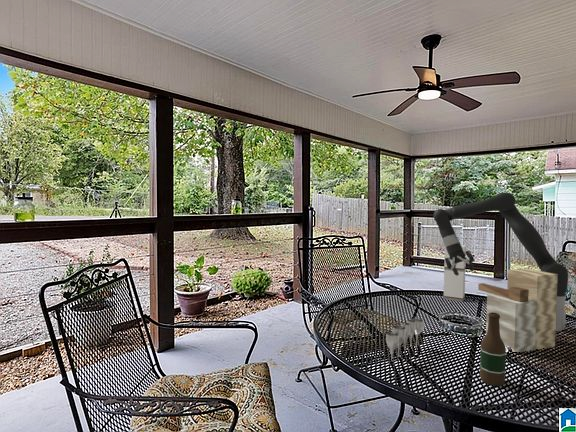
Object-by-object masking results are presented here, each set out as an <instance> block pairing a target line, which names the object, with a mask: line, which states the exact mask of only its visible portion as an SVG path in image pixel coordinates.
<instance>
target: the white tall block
mask: <svg viewBox="0 0 576 432" xmlns="http://www.w3.org/2000/svg"><path fill="white" fill-rule="evenodd" d="M461 246H462V249H463V251H464V252H466V251H467V245H463V244H461ZM449 257H450V256H449V254H448V252H447V249H446V247H445V246H444V259H445V258H449ZM465 257H466V258H467V255H466V254H465ZM450 262H451V265H452V260H451V259H450ZM466 264H467V263H466V262H464V261H462V262H459V263H457V265H456V269H457V271H458V273H459V275H457V276H456V275H455V274H454V272H453V270H452V269H448V267H447V264H446V261H445V260H444V264H443V265H444V266H443V268H444V269H443V271H444V273H443V297H442V298H443V299H444V300H449V301H457V302H462V303H463V302H464V300H465V298H466V295H465V291H466V290H465V289H466V288H465V287H466V267H467V266H466Z"/></svg>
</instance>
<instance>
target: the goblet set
mask: <svg viewBox="0 0 576 432" xmlns="http://www.w3.org/2000/svg"><path fill="white" fill-rule="evenodd" d="M424 329H425V323H424V320H423V319H421V318H417V317H416V318H415V317H414V318H411V319H408V320H407V322H404V321H403V322H401V324H400V325H399V324H398V325H394V326H392V331H389V332H387V333H386V336H385V342H386V345H387V347H388V349H389V350H390V356H391V361H392V362H393V360H392V359H393V358H394V357H393V356H394V355H393V354H394V351H395V349H396V348H397V357H400V347H401V345H402V344H403V343H404V349H406V345H407V341H408V339H409V338H410V346H412V341H413V336H414V335H415V339H416V340H415V345H416V346H417V345H418V338H419V335H420V334H421V333H422V332H423V331H424ZM391 361H390V362H391Z"/></svg>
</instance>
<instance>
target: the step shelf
mask: <svg viewBox="0 0 576 432" xmlns="http://www.w3.org/2000/svg"><path fill="white" fill-rule="evenodd" d="M557 279H558V274H554V273H548V272H543V271H541V270H538V269H531V268H515V269H507V282H506V283H507V284H506V285H507V286H506V289H508V290H509V288H511V287H520V288H524V289H528V290H529V296H528V301H526V302H517V301H514V300H510V299H509V298H506V297H502V296H499V295H495V294H487V296H486V318H485V319H486V323H485V325H486V326H485V336H486V335H487V330H488V321H489V316H488V314H489V313H491V312H493V313H498V314H499V315H500V318H499V325H500V337H501V339H502V341H503V343H504V345H507V346H509V347H511V349H512V351H513V352H520V353H525V351H526V352H531V351H530V350H532V351H536V350H535V349H538V350H542V349H543V348H544V349H549V348H555V347H556V332H557V331H556V305H557Z"/></svg>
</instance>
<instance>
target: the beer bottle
mask: <svg viewBox="0 0 576 432" xmlns="http://www.w3.org/2000/svg"><path fill="white" fill-rule="evenodd" d="M488 316H489V321H488V330H487V335H486V334H485V335H484V337H483V338H482V340H481V343H480V351H479V352H480V354H479V355H480V360H479V378H480V380H481V381H482V382H483V383H485V384H486V385H489V386H495V387H501V386H503V385H505V381H506V363H507V362H506V361H507V359H506V358H507V350H506V348H505V345H504V343H503V341H502V339H501V337H500V325H499V318H500V315H499V314H498V313H493V312H491V313H489V314H488Z"/></svg>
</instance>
